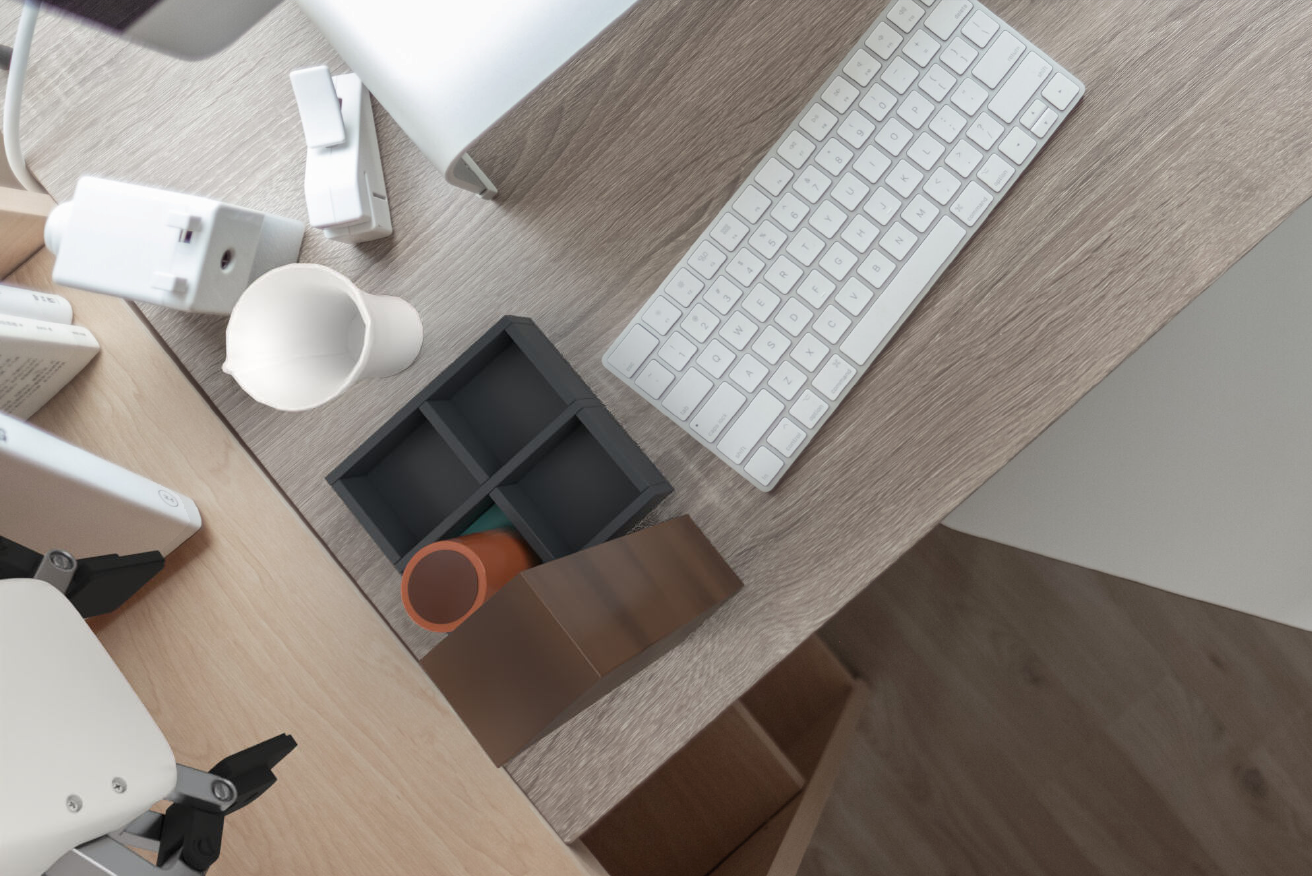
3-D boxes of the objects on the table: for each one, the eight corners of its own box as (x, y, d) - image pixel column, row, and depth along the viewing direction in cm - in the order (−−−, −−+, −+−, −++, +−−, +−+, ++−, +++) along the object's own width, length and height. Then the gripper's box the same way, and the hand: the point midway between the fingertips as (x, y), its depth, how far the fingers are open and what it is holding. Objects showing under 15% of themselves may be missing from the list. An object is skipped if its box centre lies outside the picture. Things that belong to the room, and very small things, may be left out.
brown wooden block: (674, 648, 75) (497, 769, 52) (617, 575, 76) (416, 661, 52) (745, 585, 76) (601, 677, 52) (687, 513, 76) (520, 571, 53)
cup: (304, 306, 80) (197, 295, 70) (431, 257, 80) (342, 239, 70) (339, 430, 79) (236, 436, 69) (468, 379, 79) (384, 379, 69)
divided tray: (675, 489, 77) (656, 494, 73) (498, 652, 76) (470, 665, 72) (530, 317, 79) (505, 314, 75) (357, 473, 78) (323, 478, 75)
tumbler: (530, 617, 75) (472, 642, 68) (455, 598, 76) (388, 621, 68) (551, 535, 76) (496, 552, 69) (476, 517, 76) (413, 532, 69)
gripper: (-509, 657, 33) (21, 571, 50) (-203, 1178, 31) (249, 902, 48) (-299, 477, 34) (157, 452, 51) (22, 976, 31) (391, 773, 48)
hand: (201, 670), depth 49 cm, fingers open, 9 cm apart
